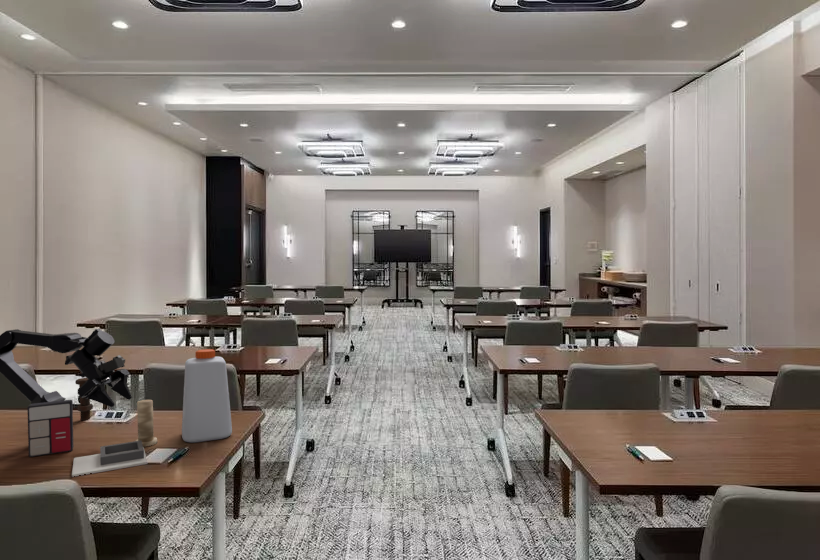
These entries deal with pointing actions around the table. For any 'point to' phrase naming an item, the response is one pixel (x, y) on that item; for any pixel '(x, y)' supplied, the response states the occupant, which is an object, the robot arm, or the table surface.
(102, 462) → the collar board
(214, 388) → the plastic bottle
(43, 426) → the calculator
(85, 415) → the bolt
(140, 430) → the peg
